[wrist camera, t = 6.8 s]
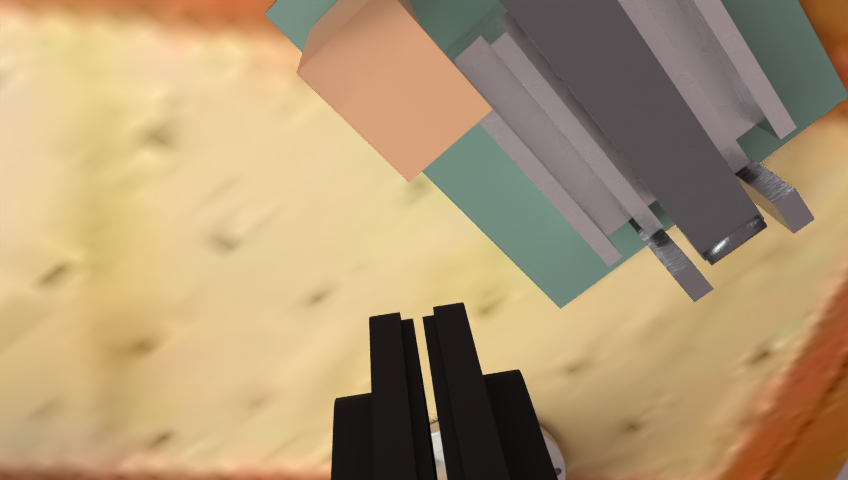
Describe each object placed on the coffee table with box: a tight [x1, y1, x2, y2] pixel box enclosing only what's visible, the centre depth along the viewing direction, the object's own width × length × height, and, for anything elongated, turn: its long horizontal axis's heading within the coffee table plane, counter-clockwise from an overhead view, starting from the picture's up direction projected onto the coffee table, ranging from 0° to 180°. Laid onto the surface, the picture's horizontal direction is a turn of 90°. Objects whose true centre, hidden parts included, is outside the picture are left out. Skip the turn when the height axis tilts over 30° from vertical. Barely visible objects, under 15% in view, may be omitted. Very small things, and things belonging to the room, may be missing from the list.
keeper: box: [297, 0, 493, 182], centre depth 25 cm, size 6×4×7 cm
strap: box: [498, 0, 767, 265], centre depth 25 cm, size 16×3×2 cm, turn 42°
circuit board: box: [264, 0, 848, 309], centre depth 29 cm, size 22×18×1 cm
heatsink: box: [445, 0, 814, 302], centre depth 27 cm, size 14×10×6 cm
